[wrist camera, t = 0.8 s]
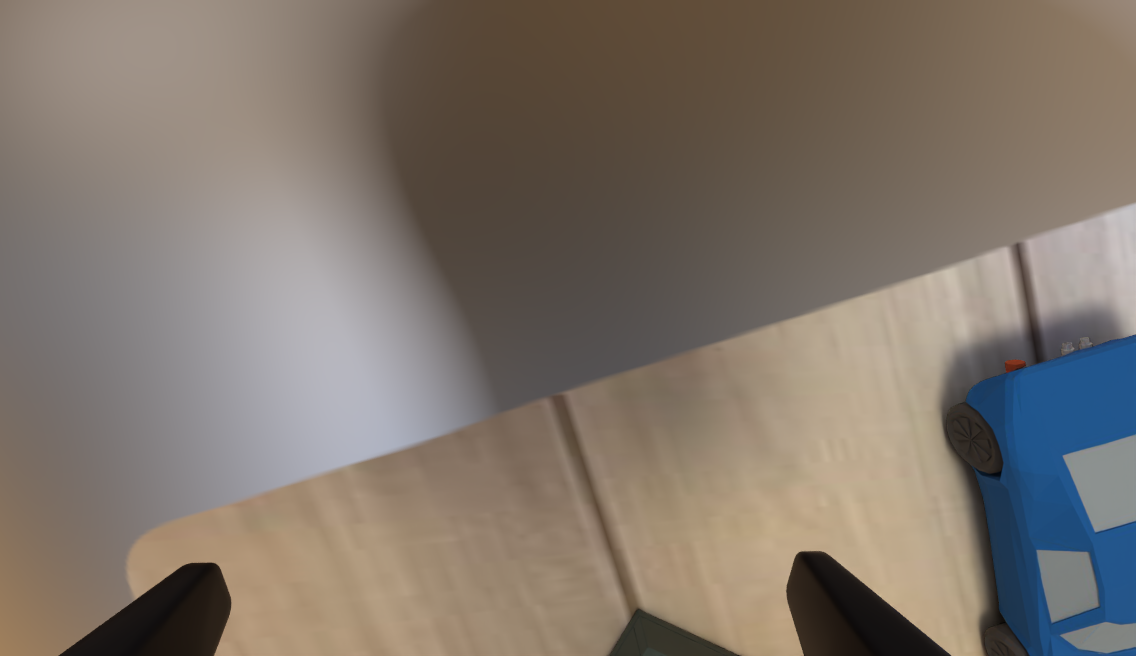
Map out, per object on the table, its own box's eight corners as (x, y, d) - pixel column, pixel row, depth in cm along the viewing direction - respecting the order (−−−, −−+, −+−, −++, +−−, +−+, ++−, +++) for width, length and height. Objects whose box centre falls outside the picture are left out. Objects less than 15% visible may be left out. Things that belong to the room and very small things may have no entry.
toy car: (992, 719, 28) (1090, 822, 23) (927, 357, 24) (1025, 386, 19) (1163, 668, 28) (1297, 760, 23) (1122, 299, 24) (1269, 313, 19)
